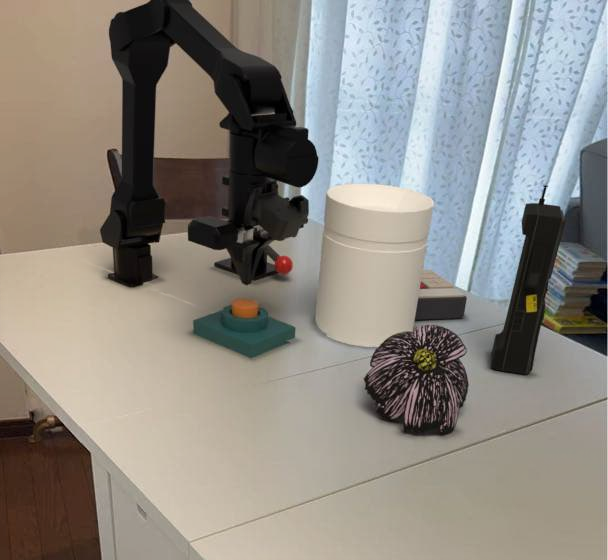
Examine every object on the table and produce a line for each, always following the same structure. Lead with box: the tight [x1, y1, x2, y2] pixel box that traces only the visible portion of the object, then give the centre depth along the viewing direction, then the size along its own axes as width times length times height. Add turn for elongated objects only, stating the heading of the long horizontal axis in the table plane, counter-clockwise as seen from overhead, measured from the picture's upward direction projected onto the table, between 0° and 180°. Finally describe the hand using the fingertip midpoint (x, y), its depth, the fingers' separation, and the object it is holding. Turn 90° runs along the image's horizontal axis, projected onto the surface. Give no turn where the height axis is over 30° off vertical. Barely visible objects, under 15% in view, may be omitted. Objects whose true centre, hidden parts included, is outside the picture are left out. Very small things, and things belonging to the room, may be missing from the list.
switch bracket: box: [213, 224, 279, 282], centre depth 145 cm, size 10×8×9 cm
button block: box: [192, 304, 296, 359], centre depth 122 cm, size 12×10×4 cm
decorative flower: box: [363, 324, 470, 436], centre depth 104 cm, size 15×12×15 cm
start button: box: [231, 298, 260, 318], centre depth 120 cm, size 4×4×2 cm
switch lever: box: [264, 244, 294, 276], centre depth 142 cm, size 12×3×3 cm, turn 51°
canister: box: [314, 183, 435, 348], centre depth 124 cm, size 16×16×20 cm
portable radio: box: [490, 184, 566, 376], centre depth 114 cm, size 8×6×25 cm
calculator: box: [415, 269, 468, 321], centre depth 139 cm, size 11×4×15 cm
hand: (246, 284), depth 118 cm, fingers closed
